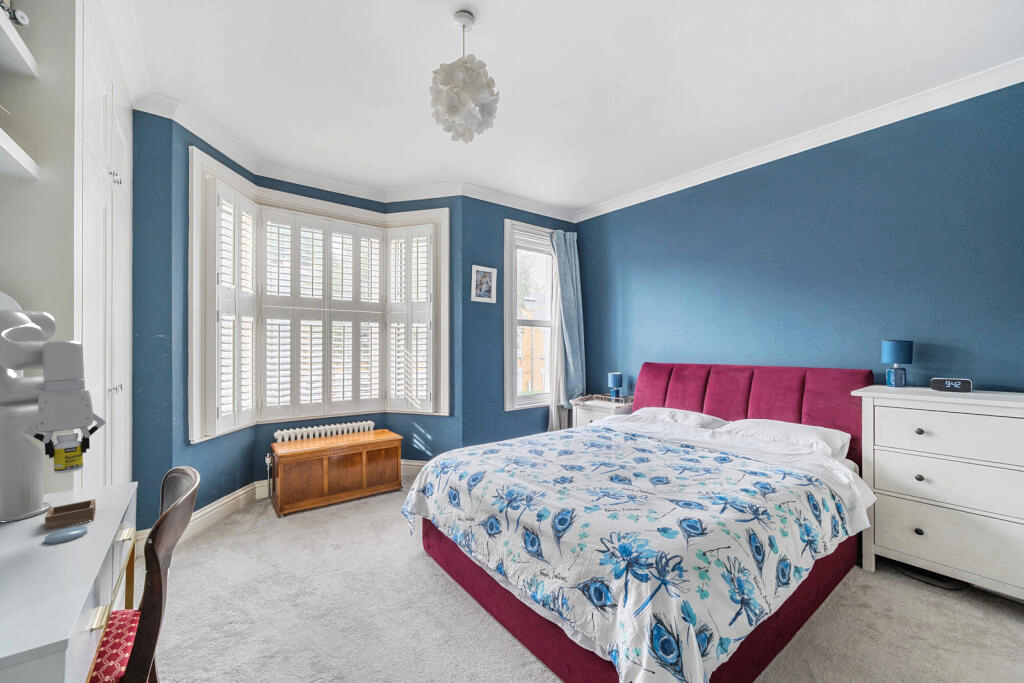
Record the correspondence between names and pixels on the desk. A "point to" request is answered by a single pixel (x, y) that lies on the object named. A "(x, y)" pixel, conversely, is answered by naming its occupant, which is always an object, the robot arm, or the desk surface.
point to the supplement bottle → (67, 453)
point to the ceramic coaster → (65, 535)
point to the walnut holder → (70, 514)
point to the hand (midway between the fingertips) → (68, 454)
